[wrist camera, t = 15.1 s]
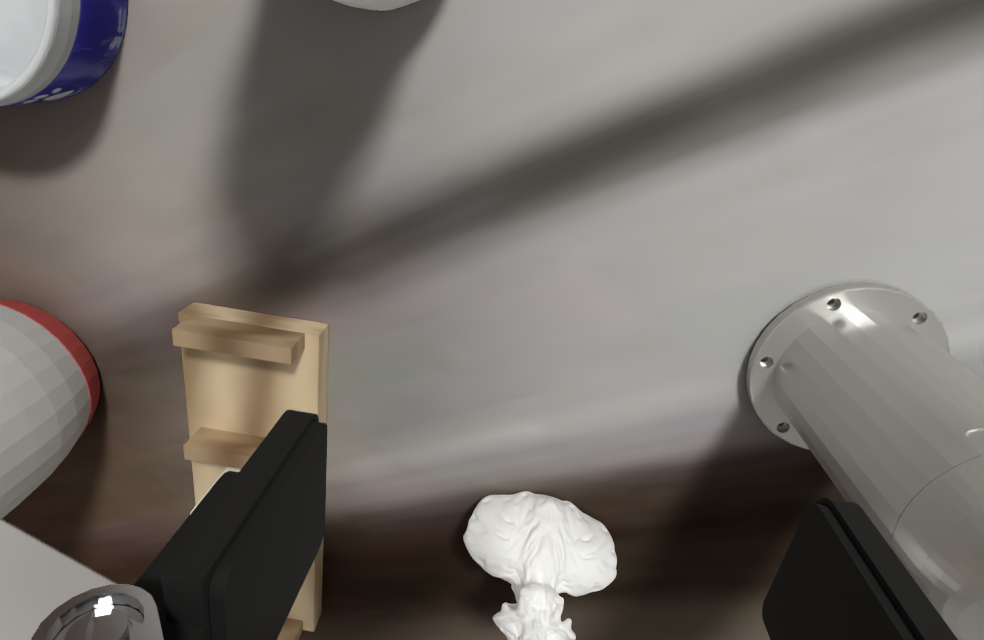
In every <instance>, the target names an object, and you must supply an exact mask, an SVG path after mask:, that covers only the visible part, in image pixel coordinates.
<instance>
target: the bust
mask: <svg viewBox="0 0 984 640" xmlns="http://www.w3.org/2000/svg"><path fill="white" fill-rule="evenodd" d="M463 540H464V543H465V545H466V548H467V550H468V552H469V554H470V555H471V557H472V558H473V559H474V560H475V561H476V562H477V563H478V564H479V565H480V566H481V567H482V568H483V569H484V570H485V571H486V572H488V573H489V574H490V575H492V576H494V577H498V578H502V579H503V580H505V581H507V582H509V583H510V584H512V586H511V588H512V590H513V592H514V593H515V598H516V601H517V603H516V604H510V603H507V602H505V603H503V604H502V608H501V611H500V612H498V613H496V614H495V615H494V616H493V620H494V622H495V624H496V625H497V626H498V627H499V629H500V630H501V631H502V632H503V633H504V634H505V635H506V637H507V639H508V640H575V639H576V636H575V634H574V632H573V631H572V630H571V623H572V621H571V619H569V618H568V619H566V620H565V621H563V622H562V621H561V613H562V611H563V605H564V600H563V598H562V597H560V596H559V593H564V592H566V593H568V594H570V595H572V596H581V595H585V594H587V593H590V592H595V591H599V590H602V589H604V588H605V587H607V586H608V585H609V584H610V583H611V582H612V581H613V580H614V579H615V577H616V574H617V570H616V565H617V557H616V554H615V550H614V542H613V540H612V537H611V535H610V534H609V532H608V530H607V529H606V527H605V526H604V525H603V524H602V523H601V522H599V521H597V520H596V519H594V518H592V517H590V516H588V515H586V514H584V513H582V512H581V511H580V510H579V509H578V508H577V507H576V506H575V505H573V504H572V503H571V502H569V501H562V500H560V499H557V498H555V497H551V496H547V495H542V494H534V493H531V492H529V491H523V492H519V493H516V494H512V495H489V496H486V497H485V498H483V499H482V500H481V501H480V502H479V503H478V505H477V506H476V508H475V509H474V512H473V514H472V516H471V517H470V519H469V521H468V527H467V530H466V532H465V534H464V536H463Z"/></svg>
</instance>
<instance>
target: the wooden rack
mask: <svg viewBox="0 0 984 640" xmlns="http://www.w3.org/2000/svg"><path fill="white" fill-rule="evenodd" d="M178 316H179V325H177V326H176V327H174V328H173V329H172V335H173V345H174V346H180V347H181V349H182V360H183V371H184V382H185V393H186V404H187V414H188V425H189V436H190V439H189V440H188V441H187V442H186V443H185V444H184V445H183V448H184V459H187V460H192V469H193V480H194V491H195V502H196V505H197V504H198V502H199V501H200V500H201V499H202V497H203V496H204V495H205V494H206V492H207V491H208V490H209V489H210V487H211V486H212V485H213V484H214V482H215V481H216V480H217V479H218V477H219V476H220V475H221V474H222V472H223V471H224V470H225V469H226V467H227V466H229V467H235V468H241V469H242V467H243V466H244V465H245V464H246V462H247V461H248V460H249V458H250V457H251V456H252V454H253V453H254V452H255V450H256V449H257V448H258V446H259V445H260V444H261V442H262V441H263V440H264V438H265V437H266V436H267V435H268V433H269V432H270V431H271V429H272V428H273V427H274V425H275V424H276V423H277V421H278V420H279V419H280V417H281V416H282V415H283V413H284V412H285V411H286V410H295V411H301V412H308V413H314V414H317V415H318V418H319V422H322V423H326V414H327V374H328V334H329V324H325V323H319V322H313V321H307V320H301V319H294V318H288V317H282V316H276V315H270V314H263V313H257V312H251V311H245V310H239V309H233V308H226V307H220V306H214V305H208V304H202V303H195V302H194V303H192V304H191V305H189V306H188V307H186V308H185V309H183V310H182V311H180V312H179V313H178ZM322 572H323V540H322V543H321V546H320V548H319V551H318V553H317V555H316V557H315V559H314V561H313V563H312V566H311V568H310V570H309V572H308V574H307V576H306V578H305V580H304V583H303V585H302V587H301V589H300V591H299V593H298V595H297V598H296V600H295V602H294V604H293V606H292V608H291V610H290V612H289V615H288V617H287V619H286V621H285V623H284V625H283V627H282V630H281V632H280V634H279V636H278V638H277V640H299V638H300V635H301V633H302V631H303V630H306V631H312V632H314V630H315V627H316V625H317V622H318V620H319V618H320V615H321V612H322Z"/></svg>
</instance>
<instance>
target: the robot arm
mask: <svg viewBox="0 0 984 640" xmlns="http://www.w3.org/2000/svg"><path fill="white" fill-rule="evenodd" d="M829 300H830V302H828V301H829ZM763 358H764V359H763ZM746 380H747V391H748V395H749V399H750V402H751V404H752V406H753V408H754V410H755V411H756V413H757V415H758V416H759V418H760V419H761V421H762V422H763V423H764V425H765V426H766V427H767V428H768V429H769V430H770V431H771V432H772V433H773V434H774V435H776V436H777V437H779V438H781V439H782V440H784V441H786V442H788V443H789V444H792V445H795V446H798V447H801V448H804V449H808V450H811V452H812V453H813V455H814V456H815V458H816V459H817V460H818V462H819V463H820V465H821V466H822V467H823V469H824V470H825V472H826V473H827V475H828V476H829V477H830V479H831V480H832V482H833V483H834V484H835V486H836V487H837V489H838V490H839V492H840V493H841V494H842V496H843V497H844V499H845V500H846V501H842V500H836V499H830V498H821V499H820V500H819V501H818V502H817V503H816V504H811V505H809V506H808V508H807V510H806V512H805V514H804V516H803V518H802V520H801V522H800V525H799V527H798V529H797V531H796V533H795V535H794V538H793V540H792V542H791V544H790V546H789V548H788V550H787V553H786V555H785V557H784V559H783V561H782V563H781V566H780V568H779V570H778V572H777V574H776V576H775V578H774V581H773V583H772V585H771V587H770V589H769V591H768V593H767V596H766V598H765V600H764V603H763V608H762V615H763V621H764V624H765V627H766V629H767V632H768V634H769V637H770V639H771V640H958V639H959V640H984V377H982V376H981V375H980V374H978V373H977V372H975V371H974V370H972V369H971V368H969V367H968V366H967V365H965V364H964V363H962V362H961V361H959V360H958V359H957V358H955V357H954V356H952V355H951V354H950V350H949V342H948V337H947V335H946V332H945V330H944V327H943V325H942V323H941V322H940V321H939V319H938V318H937V316H936V315H935V314H934V312H933V311H932V310H930V309H929V308H928V307H927V306H925V305H924V304H923V303H922V302H920V301H919V300H917V299H916V298H914V297H912V296H910V295H909V294H907V293H905V292H903V291H900V290H897V289H895V288H892V287H889V286H884V285H877V284H871V283H859V284H846V285H840V286H835V287H830V288H827V289H824V290H821V291H819V292H816V293H813V294H811V295H809V296H807V297H805V298H803V299H801V300H799V301H797V302H796V303H794V304H792V305H791V306H790V307H788V308H787V309H786V310H785V311H783V312H782V313H781V314H779V315H778V316H777V317H776V318H775V319H774V320H773V321H772V322H771V323H770V324H769V325H768V327H767V328H766V329H765V330H764V332H763V333H762V335H761V336H760V338H759V339H758V341H757V342H756V344H755V346H754V349H753V351H752V353H751V356H750V358H749V363H748V368H747V373H746ZM326 459H327V424H326V423H322V422H319V418H318V415H317V414H314V413H308V412H301V411H295V410H286V411H285V412H284V413H283V415H282V416H281V417H280V419H279V420H278V421H277V423H276V424H275V425H274V427H273V428H272V429H271V431H270V432H269V433H268V435H267V436H266V437H265V438H264V440H263V441H262V442H261V444H260V445H259V446H258V448H257V449H256V450H255V452H254V453H253V454H252V456H251V457H250V458H249V460H248V461H247V462H246V464H245V465H244V466H243V467H242V469H241V470H240V471H239V472H234V471H228V472H226V473H224V474H223V475H222V476H221V477H220V478H219V479H218V480H217V482H216V483H215V484H214V485H213V487H212V488H211V489H210V490H209V492H208V493H207V494H206V495H205V497H204V498H203V499H202V500H201V502H200V503H199V504H198V505H197V507H196V508H195V509H194V510H193V512H192V513H191V514H190V515H189V517H188V518H187V519H186V520H185V522H184V523H183V524H182V526H181V527H180V528H179V529H178V531H177V532H176V533H175V534H174V536H173V537H172V538H171V539H170V541H169V542H168V543H167V544H166V546H165V547H164V548H163V549H162V551H161V552H160V553H159V554H158V556H157V557H156V558H155V559H154V561H153V562H152V563H151V564H150V566H149V567H148V568H147V570H146V571H145V572H144V573H143V575H142V576H141V577H140V578H139V580H138V581H137V582H136V583H135V585H134V586H132V585H128V584H115V585H106V586H102V587H98V588H94V589H90V590H88V591H86V592H84V593H81V594H79V595H77V596H75V597H72V598H71V599H69V600H68V601H66V602H65V603H63V604H62V605H60V606H59V607H57V608H56V609H55V610H54V611H53V612H52V613H51V614H50V615H49V616H48V617H47V618H46V619H44V620H43V621H42V622H41V624H40V625H39V627H38V629H37V630H36V632H35V633H34V635H33V637H32V639H31V640H277V638H278V636H279V634H280V632H281V630H282V627H283V625H284V623H285V621H286V619H287V617H288V615H289V612H290V610H291V608H292V606H293V604H294V602H295V600H296V598H297V595H298V593H299V591H300V589H301V587H302V585H303V583H304V580H305V578H306V576H307V574H308V572H309V570H310V568H311V566H312V563H313V561H314V559H315V557H316V555H317V553H318V551H319V548H320V546H321V543H322V540H323V536H324V529H325V497H326Z"/></svg>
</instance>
